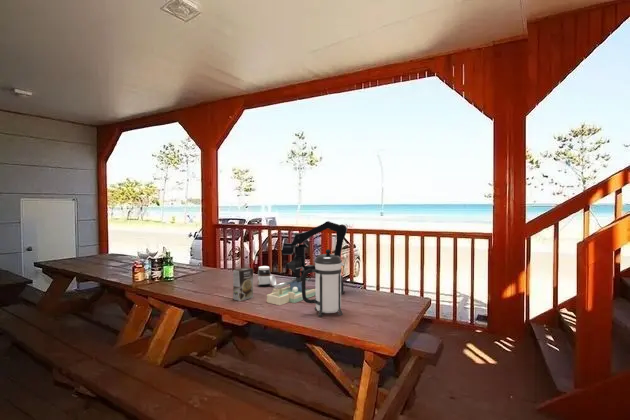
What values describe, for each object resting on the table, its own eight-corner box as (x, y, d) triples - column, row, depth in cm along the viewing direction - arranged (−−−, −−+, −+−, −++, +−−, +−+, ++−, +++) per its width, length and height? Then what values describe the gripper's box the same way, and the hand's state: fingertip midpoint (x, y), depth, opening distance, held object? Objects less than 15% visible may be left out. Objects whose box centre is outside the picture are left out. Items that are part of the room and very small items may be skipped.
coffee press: (323, 305, 166) (323, 246, 165) (350, 311, 156) (350, 248, 155) (300, 314, 152) (300, 250, 152) (328, 322, 142) (328, 253, 142)
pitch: (317, 294, 186) (317, 285, 186) (284, 306, 164) (284, 296, 164) (295, 290, 195) (295, 281, 195) (262, 301, 173) (262, 291, 173)
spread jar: (257, 284, 211) (256, 266, 211) (274, 282, 214) (274, 264, 214) (259, 288, 200) (259, 269, 199) (277, 287, 203) (277, 268, 203)
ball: (299, 292, 183) (299, 286, 183) (295, 293, 180) (295, 287, 180) (294, 291, 185) (294, 285, 185) (291, 292, 182) (291, 287, 182)
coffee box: (240, 301, 173) (240, 271, 173) (232, 299, 177) (232, 269, 177) (253, 297, 180) (253, 268, 180) (245, 295, 184) (245, 267, 184)
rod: (311, 287, 191) (311, 277, 191) (283, 297, 172) (283, 285, 172) (301, 285, 196) (300, 275, 196) (272, 294, 177) (272, 283, 177)
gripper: (279, 255, 192) (279, 281, 192) (303, 258, 181) (303, 286, 181) (291, 252, 201) (291, 278, 201) (315, 255, 190) (316, 282, 190)
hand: (300, 281), depth 193 cm, fingers closed on rod, 3 cm apart
